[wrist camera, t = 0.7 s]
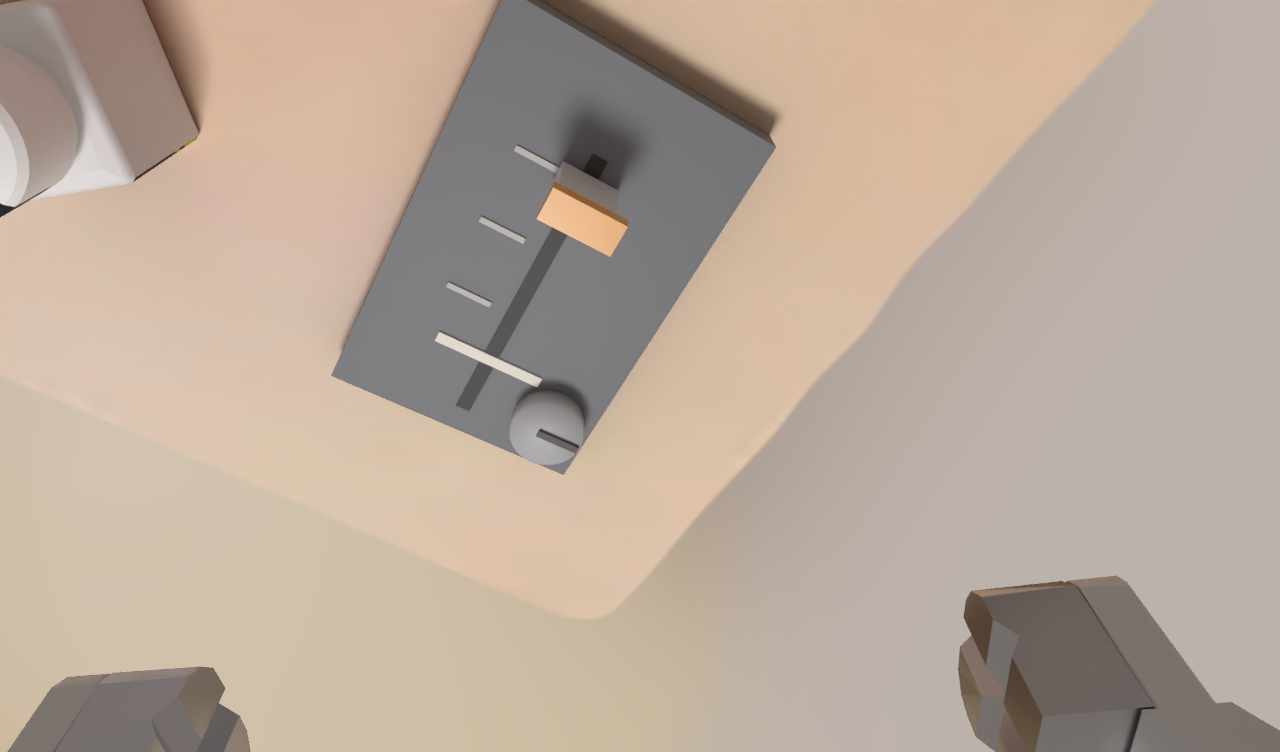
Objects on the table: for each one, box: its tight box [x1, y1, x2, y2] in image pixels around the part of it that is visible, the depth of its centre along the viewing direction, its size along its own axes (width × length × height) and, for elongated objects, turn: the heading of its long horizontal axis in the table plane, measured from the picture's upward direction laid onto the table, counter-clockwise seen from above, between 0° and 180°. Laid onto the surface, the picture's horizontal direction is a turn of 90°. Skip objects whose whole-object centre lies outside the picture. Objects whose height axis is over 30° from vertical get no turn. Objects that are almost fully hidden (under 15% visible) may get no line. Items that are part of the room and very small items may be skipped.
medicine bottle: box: [0, 0, 198, 217], centre depth 35 cm, size 7×7×12 cm
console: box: [331, 0, 776, 475], centre depth 44 cm, size 22×14×4 cm, turn 150°
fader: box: [537, 161, 628, 257], centre depth 39 cm, size 2×4×5 cm, turn 60°
